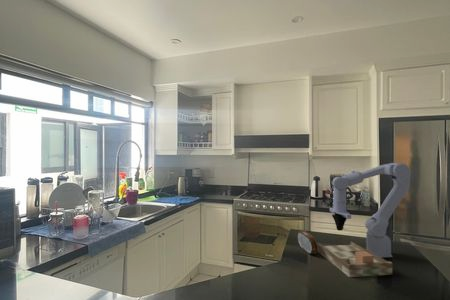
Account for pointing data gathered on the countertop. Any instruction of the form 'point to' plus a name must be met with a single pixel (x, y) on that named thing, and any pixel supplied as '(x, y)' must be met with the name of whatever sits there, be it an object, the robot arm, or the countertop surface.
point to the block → (363, 257)
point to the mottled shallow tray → (346, 260)
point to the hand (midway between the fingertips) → (339, 229)
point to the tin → (307, 242)
